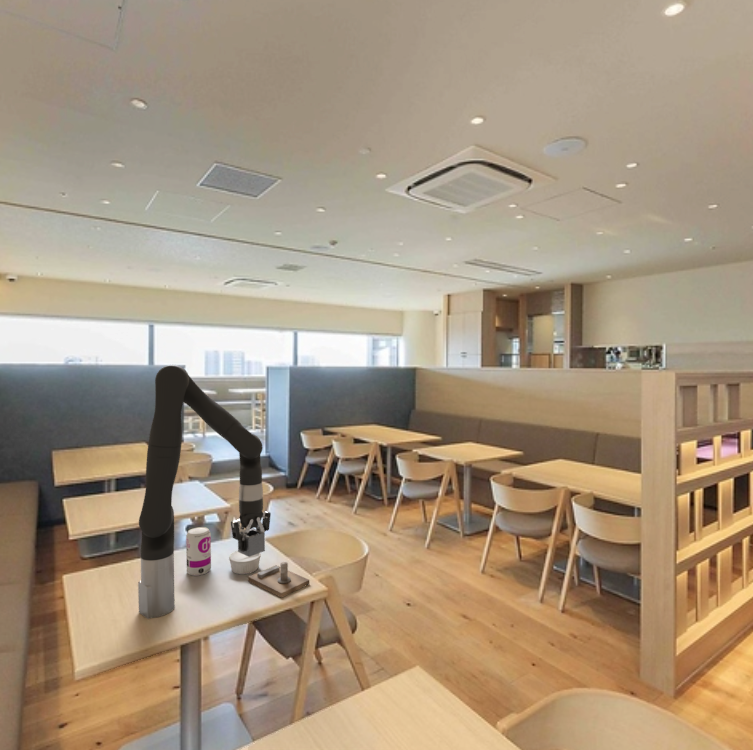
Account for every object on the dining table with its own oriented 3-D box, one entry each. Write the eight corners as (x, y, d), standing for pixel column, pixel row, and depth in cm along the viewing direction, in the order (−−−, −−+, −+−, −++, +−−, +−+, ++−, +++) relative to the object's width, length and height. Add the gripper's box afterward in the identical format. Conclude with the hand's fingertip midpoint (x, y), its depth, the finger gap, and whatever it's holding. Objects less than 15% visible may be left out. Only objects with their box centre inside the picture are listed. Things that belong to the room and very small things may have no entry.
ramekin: (253, 577, 168) (253, 562, 168) (223, 574, 170) (223, 560, 170) (265, 563, 179) (265, 549, 179) (237, 561, 181) (237, 547, 181)
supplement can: (215, 569, 174) (215, 529, 173) (196, 578, 167) (195, 536, 166) (201, 564, 178) (200, 524, 178) (181, 572, 171) (181, 531, 171)
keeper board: (281, 597, 154) (281, 574, 153) (248, 580, 165) (248, 559, 165) (309, 584, 163) (309, 562, 163) (276, 569, 174) (275, 548, 174)
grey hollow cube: (249, 556, 150) (248, 538, 150) (238, 551, 154) (237, 533, 154) (264, 550, 155) (264, 532, 155) (253, 546, 159) (253, 528, 159)
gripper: (238, 504, 146) (239, 558, 147) (276, 493, 157) (276, 544, 158) (224, 499, 151) (225, 551, 152) (262, 489, 162) (262, 538, 163)
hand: (251, 547), depth 155 cm, fingers closed on grey hollow cube, 6 cm apart
